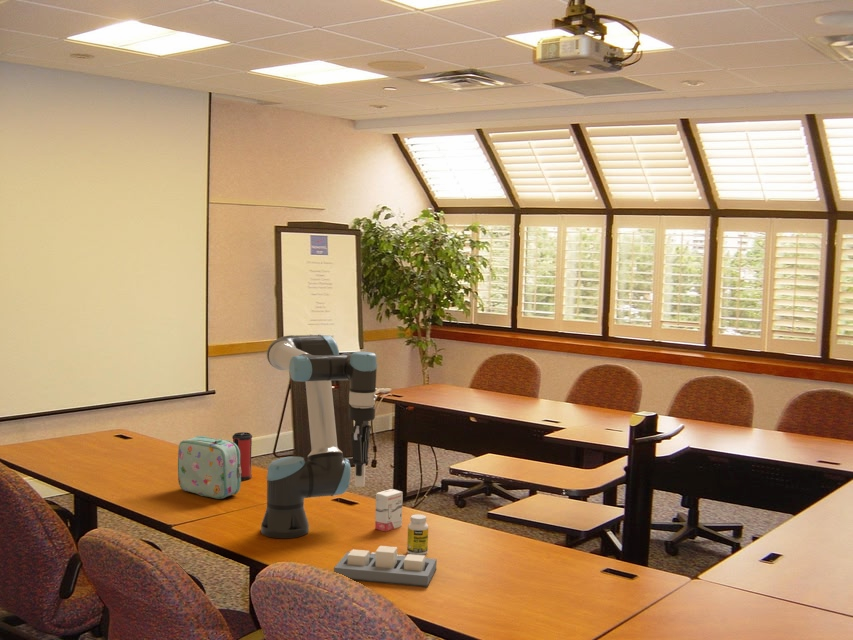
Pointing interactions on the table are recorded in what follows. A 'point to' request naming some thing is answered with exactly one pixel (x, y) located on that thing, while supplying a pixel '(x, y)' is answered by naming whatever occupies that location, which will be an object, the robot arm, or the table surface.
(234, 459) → the lunch box
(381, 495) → the ink box
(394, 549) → the button middle
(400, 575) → the board
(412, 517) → the pill bottle
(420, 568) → the button right
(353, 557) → the button left
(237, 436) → the red travel mug
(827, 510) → the table surface
